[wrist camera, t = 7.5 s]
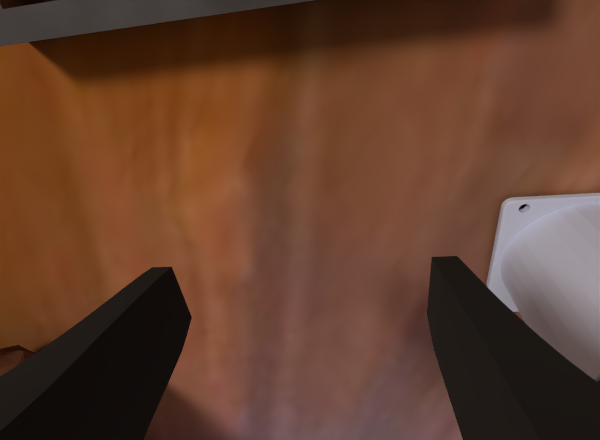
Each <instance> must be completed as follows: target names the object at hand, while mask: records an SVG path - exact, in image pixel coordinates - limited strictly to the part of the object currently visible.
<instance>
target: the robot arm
mask: <svg viewBox="0 0 600 440" xmlns="http://www.w3.org/2000/svg"><path fill="white" fill-rule="evenodd" d="M524 204H527V205H526V207H524V208H523V209H519V207H520V206H521V205H524ZM514 312H519V313H520V314H521V316H522V318H523V320H524V322H525V323H524V322H523V321H522V320H521V319H520V318H519V317H518V316H517V315H516V314H515V313H514ZM427 315H428V321H429V326H430V331H431V336H432V341H433V346H434V351H435V354H436V357H437V360H438V363H439V367H440V370H441V373H442V376H443V379H444V382H445V385H446V388H447V391H448V395H449V398H450V401H451V404H452V407H453V410H454V413H455V416H456V419H457V422H458V425H459V429H460V432H461V435H462V438H463V440H600V193H586V194H568V195H549V196H531V197H513V198H509V199H507V200H505V201H504V202H503V203H502V205H501V210H500V215H499V220H498V226H497V231H496V236H495V241H494V247H493V252H492V257H491V263H490V268H489V273H488V279H487V284H486V285H485V284H484V283H483V282H482V281H481V280H480V279H479V278H478V277H477V276H476V275H475V274H474V273H473V272H472V271H471V270H470V269H469V268H468V267H467V266H466V265H465V264H464V263H463V262H462V261H461V260H460V259H459V258H458V257H457V256H448V257H432V262H431V274H430V286H429V298H428V310H427ZM191 318H192V317H191V314H190V312H189V309H188V307H187V304H186V302H185V299H184V297H183V294H182V292H181V289H180V287H179V284H178V282H177V279H176V277H175V274H174V272H173V269H172V267H156V268H151V269H149V270H148V271H146V272H145V273H143V274H142V275H141V276H139V277H138V278H137V279H135V280H134V281H133V282H131V283H130V284H129V285H127V286H126V287H125V288H123V289H122V290H121V291H120V292H118V293H117V294H116V295H114V296H113V297H112V298H111V299H109V300H108V301H107V302H105V303H104V304H103V305H101V306H100V307H99V308H98V309H96V310H95V311H94V312H92V313H91V314H90V315H88V316H87V317H86V318H84V319H83V320H82V321H80V322H79V323H78V324H76V325H75V326H74V327H72V328H71V329H69V330H68V331H67V332H65V333H64V334H62V335H61V336H60V337H58V338H57V339H56V340H54V341H53V342H51V343H50V344H49V345H47V346H46V347H44V348H43V349H41V350H40V351H39V352H37V353H36V354H34V355H33V356H31V357H30V358H28V359H27V360H25V361H24V362H22V363H21V364H19V365H17V366H16V367H14V368H13V369H11V370H9V371H8V372H6V373H5V374H3V375H2V376H0V440H143V439H144V437H145V434H146V432H147V429H148V427H149V424H150V422H151V420H152V418H153V415H154V413H155V411H156V409H157V406H158V404H159V402H160V400H161V397H162V395H163V393H164V391H165V388H166V386H167V384H168V382H169V379H170V377H171V375H172V373H173V370H174V368H175V366H176V363H177V361H178V359H179V356H180V354H181V352H182V349H183V346H184V342H185V339H186V336H187V332H188V329H189V325H190V321H191Z"/></svg>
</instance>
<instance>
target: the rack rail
mask: <svg viewBox="0 0 600 440" xmlns="http://www.w3.org/2000/svg"><path fill="white" fill-rule="evenodd" d="M307 1H314V0H56V1H50V2H44V1H43V0H0V46H5V45H12V44H19V43H26V42H32V41H39V40H46V39H53V38H60V37H67V36H74V35H80V34H87V33H94V32H101V31H108V30H115V29H122V28H128V27H135V26H142V25H149V24H156V23H163V22H170V21H177V20H183V19H190V18H197V17H204V16H211V15H218V14H225V13H231V12H238V11H245V10H252V9H259V8H266V7H273V6H280V5H286V4H293V3H300V2H307Z"/></svg>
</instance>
